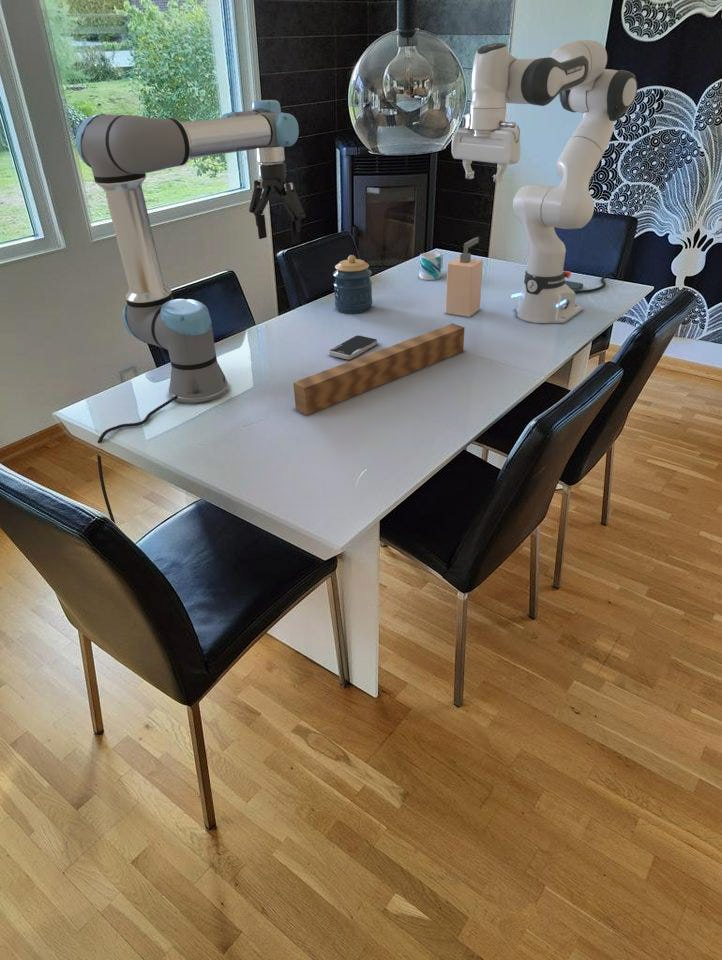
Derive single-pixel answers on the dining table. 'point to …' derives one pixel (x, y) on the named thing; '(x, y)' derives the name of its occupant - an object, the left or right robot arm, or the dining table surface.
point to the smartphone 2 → (574, 285)
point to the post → (376, 368)
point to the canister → (352, 286)
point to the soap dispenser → (464, 283)
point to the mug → (430, 265)
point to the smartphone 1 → (353, 347)
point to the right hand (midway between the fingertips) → (483, 180)
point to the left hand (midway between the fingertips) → (279, 240)
